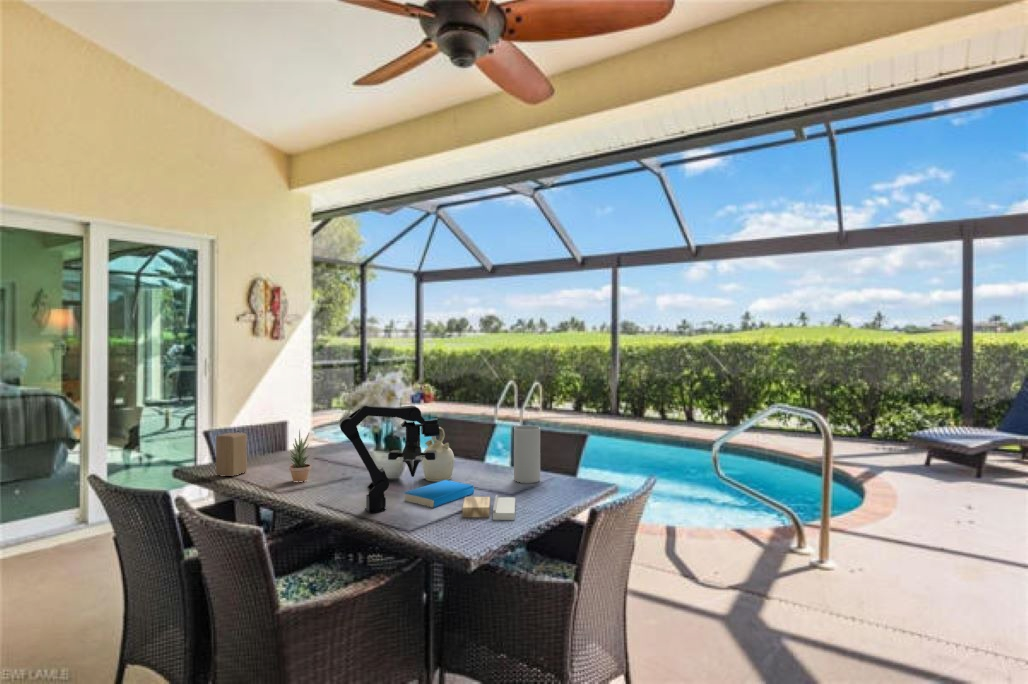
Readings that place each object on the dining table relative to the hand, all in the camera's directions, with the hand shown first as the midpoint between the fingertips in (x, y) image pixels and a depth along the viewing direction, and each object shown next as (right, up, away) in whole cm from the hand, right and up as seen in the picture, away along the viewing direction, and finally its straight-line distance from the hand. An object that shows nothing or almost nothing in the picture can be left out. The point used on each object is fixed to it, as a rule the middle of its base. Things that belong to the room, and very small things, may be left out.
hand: (412, 476), depth 219 cm
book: (+9, -13, +14) cm, 21 cm away
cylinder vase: (+47, -12, +41) cm, 63 cm away
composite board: (+37, -12, -6) cm, 39 cm away
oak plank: (+21, -11, -6) cm, 24 cm away
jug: (+4, -12, +44) cm, 46 cm away
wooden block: (-99, -12, +51) cm, 112 cm away
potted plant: (-60, -12, +39) cm, 73 cm away
